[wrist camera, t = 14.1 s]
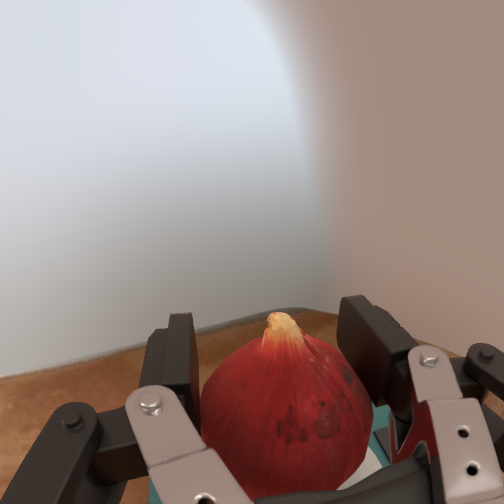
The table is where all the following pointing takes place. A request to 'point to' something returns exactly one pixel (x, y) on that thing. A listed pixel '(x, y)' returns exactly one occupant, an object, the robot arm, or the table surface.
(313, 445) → the onion
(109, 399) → the table surface
